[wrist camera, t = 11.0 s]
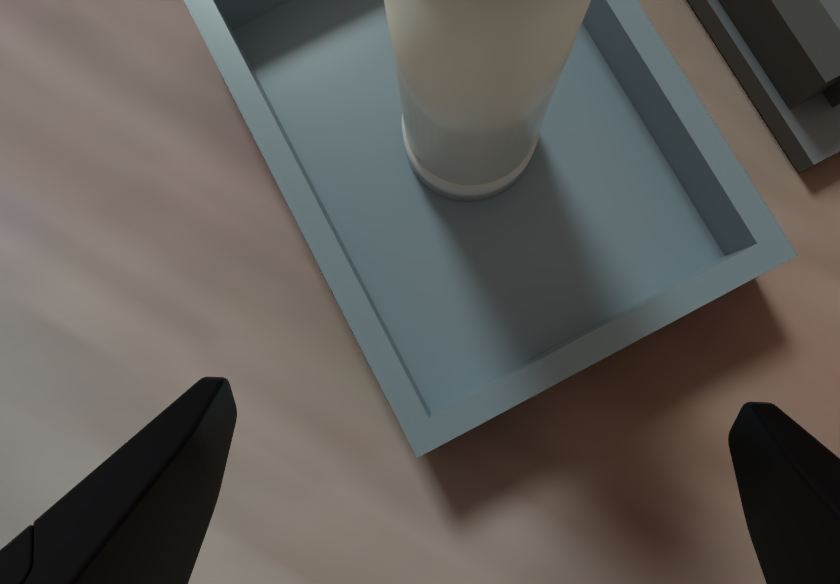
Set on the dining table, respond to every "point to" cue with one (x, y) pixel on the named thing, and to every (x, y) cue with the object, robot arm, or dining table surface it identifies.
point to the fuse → (477, 86)
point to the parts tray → (494, 206)
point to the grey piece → (785, 67)
